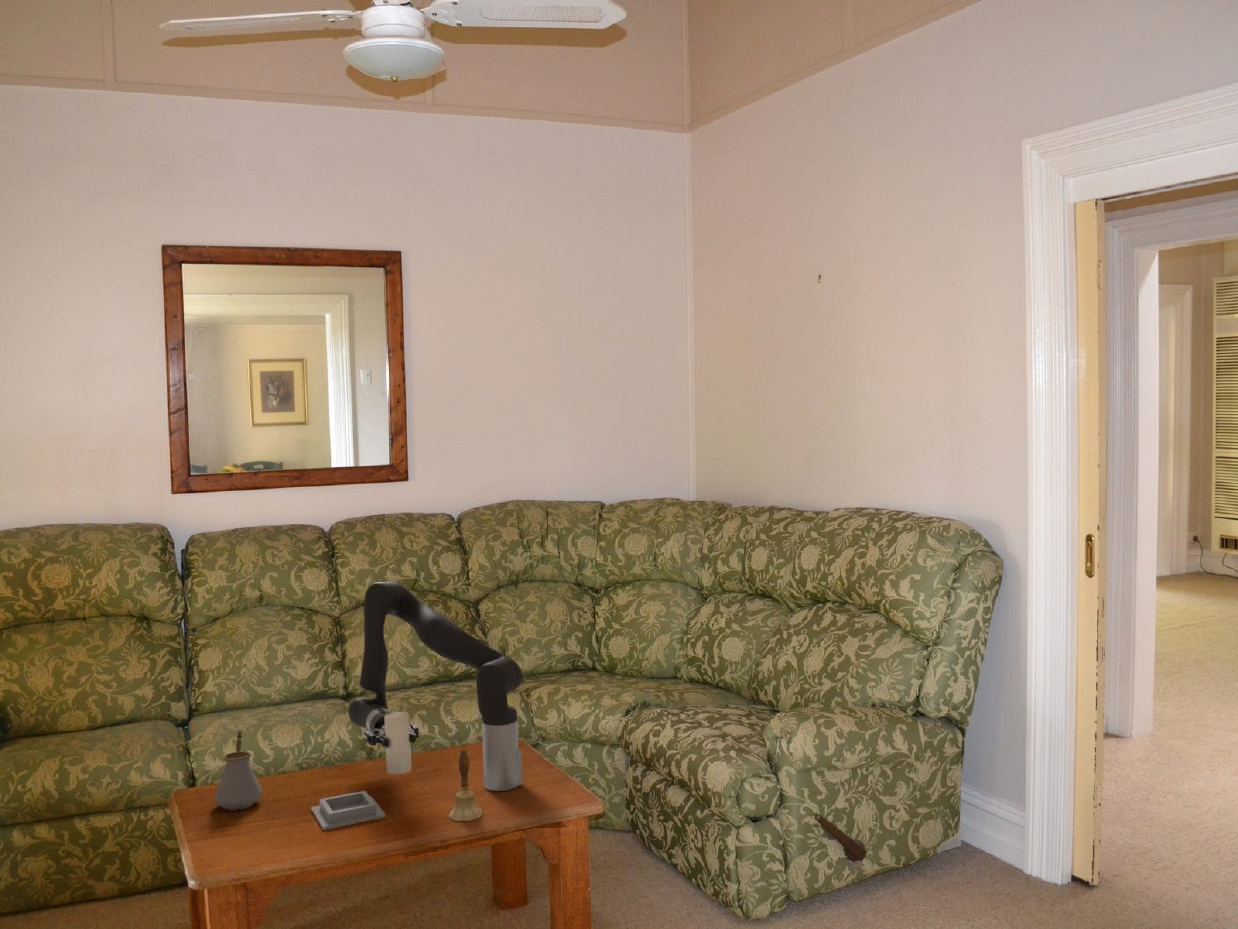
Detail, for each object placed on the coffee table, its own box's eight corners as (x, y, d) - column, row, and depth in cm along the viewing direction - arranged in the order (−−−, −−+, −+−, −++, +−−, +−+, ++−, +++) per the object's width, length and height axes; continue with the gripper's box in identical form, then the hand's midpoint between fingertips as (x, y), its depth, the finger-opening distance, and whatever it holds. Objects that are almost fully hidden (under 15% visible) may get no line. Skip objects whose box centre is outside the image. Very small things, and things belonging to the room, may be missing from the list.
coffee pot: (261, 810, 264) (259, 751, 264) (212, 816, 261) (210, 756, 260) (265, 782, 285) (262, 727, 284) (219, 787, 282) (217, 732, 281)
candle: (407, 764, 269) (405, 710, 268) (414, 771, 264) (411, 716, 263) (384, 769, 266) (381, 714, 266) (390, 776, 261) (387, 720, 260)
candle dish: (370, 799, 270) (370, 787, 270) (385, 818, 256) (385, 805, 256) (311, 810, 263) (310, 798, 263) (323, 830, 250) (322, 818, 249)
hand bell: (444, 813, 259) (442, 749, 258) (477, 806, 262) (474, 743, 262) (454, 824, 251) (451, 758, 251) (487, 818, 255) (485, 753, 254)
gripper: (355, 715, 274) (371, 731, 259) (409, 706, 281) (427, 721, 266) (356, 744, 274) (372, 761, 259) (410, 734, 281) (429, 751, 266)
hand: (400, 741), depth 263 cm, fingers closed on candle, 6 cm apart
